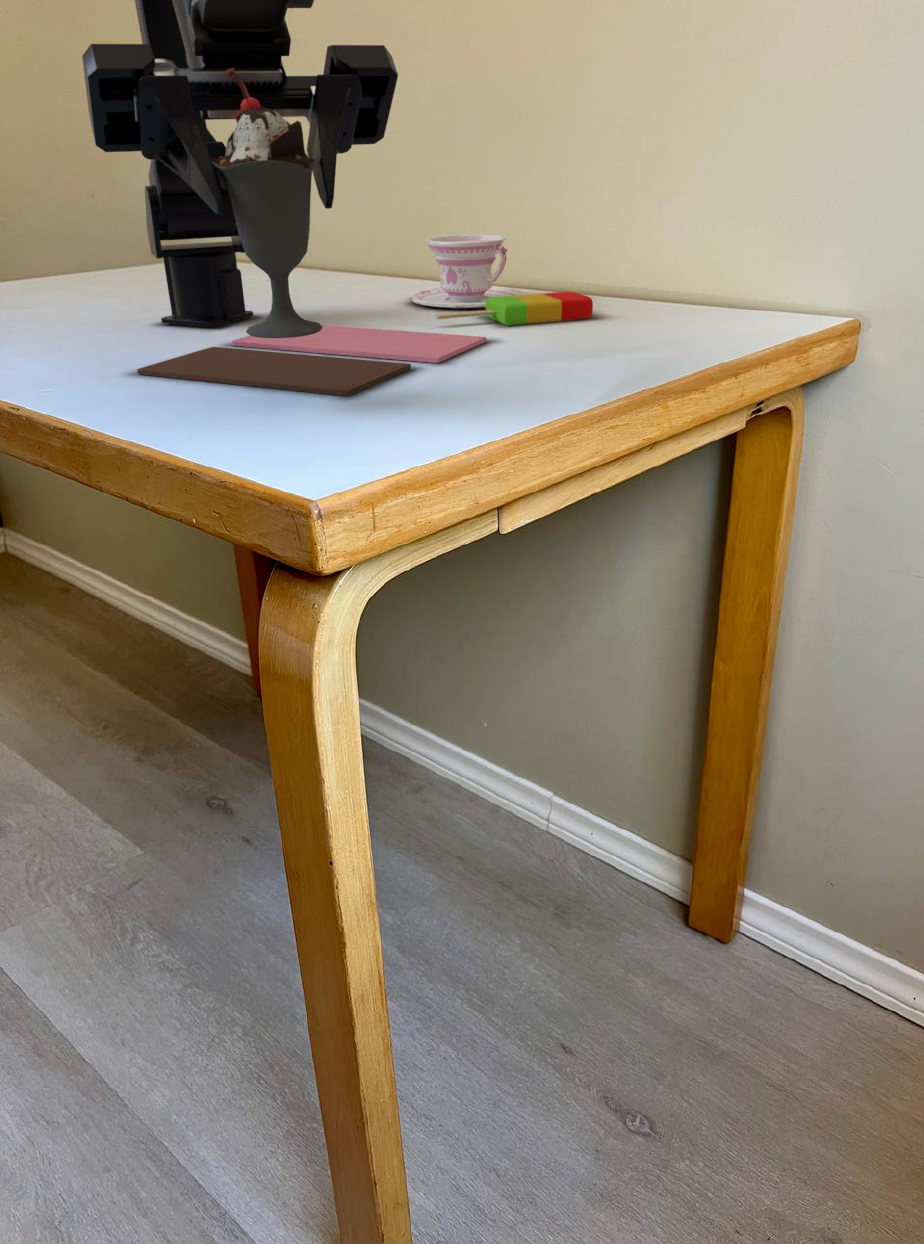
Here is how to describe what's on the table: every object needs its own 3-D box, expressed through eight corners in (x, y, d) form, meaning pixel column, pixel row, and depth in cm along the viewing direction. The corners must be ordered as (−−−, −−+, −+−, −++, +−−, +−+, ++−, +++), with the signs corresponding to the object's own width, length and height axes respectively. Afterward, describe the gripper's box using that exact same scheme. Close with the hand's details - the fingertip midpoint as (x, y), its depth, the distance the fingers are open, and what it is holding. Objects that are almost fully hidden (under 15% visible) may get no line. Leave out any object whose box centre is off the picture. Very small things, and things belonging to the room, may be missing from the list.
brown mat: (137, 374, 74) (136, 368, 74) (213, 351, 81) (212, 346, 81) (348, 396, 67) (347, 390, 66) (411, 368, 74) (411, 363, 73)
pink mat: (232, 345, 83) (231, 340, 83) (292, 327, 90) (292, 322, 90) (438, 363, 75) (437, 357, 75) (486, 341, 82) (486, 336, 82)
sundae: (235, 323, 66) (203, 69, 59) (334, 318, 66) (314, 67, 59) (227, 343, 60) (190, 65, 53) (335, 338, 61) (313, 62, 54)
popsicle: (597, 318, 91) (598, 298, 90) (445, 331, 87) (444, 310, 86) (572, 309, 96) (573, 290, 95) (427, 321, 91) (426, 301, 91)
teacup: (387, 304, 101) (384, 241, 98) (454, 289, 109) (453, 230, 107) (483, 314, 94) (483, 246, 92) (546, 296, 103) (547, 234, 100)
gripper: (49, -130, 52) (103, 100, 48) (380, -110, 58) (451, 95, 54) (73, 49, 62) (119, 250, 58) (352, 49, 68) (410, 232, 64)
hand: (275, 206), depth 59 cm, fingers closed on sundae, 6 cm apart
